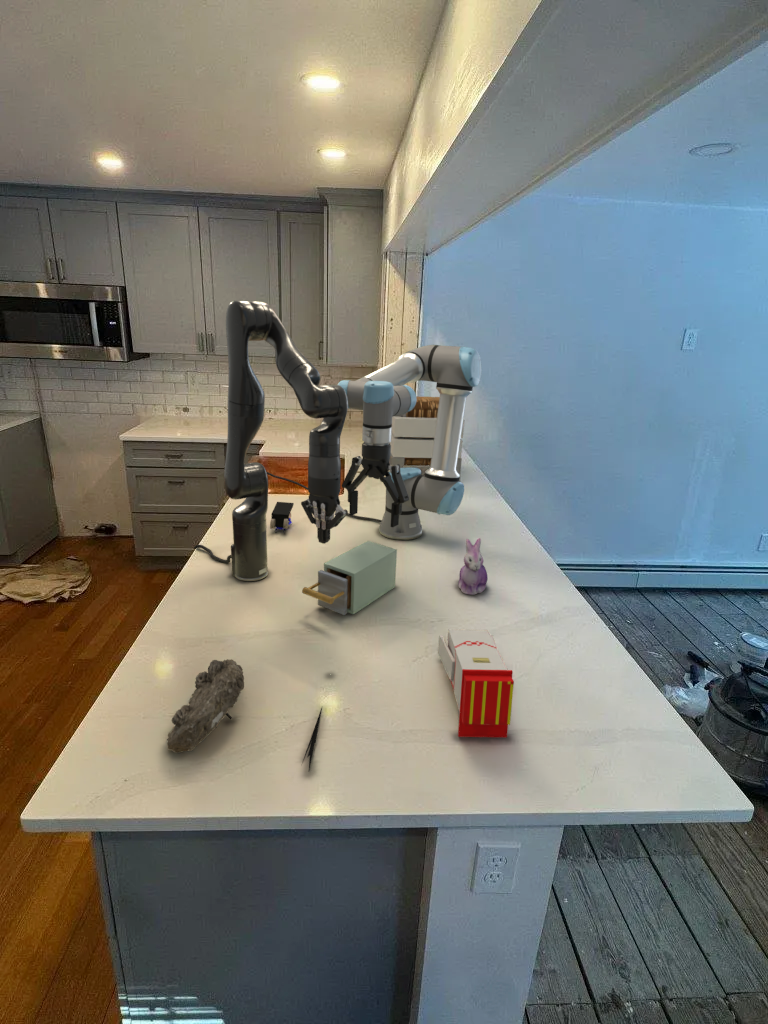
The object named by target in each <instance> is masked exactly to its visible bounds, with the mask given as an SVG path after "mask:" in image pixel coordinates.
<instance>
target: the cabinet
mask: <svg viewBox="0 0 768 1024" xmlns="http://www.w3.org/2000/svg"><path fill="white" fill-rule="evenodd" d="M397 554H398V549H397V548H393V547H390V546H387V545H384V544H381V543H377V542H374V541H371V540H367V541H364V542H363V543H361V544H359V545H356V546H355V547H353V548H351V549H349V550H347V551H345V552H343V553H341V554H339V555H337V556H336V557H333V558H331V559H330V560H327V561H325V562H324V563H323V571H326V572H327V570H328V569H333V570H336V571H338V572H341V573H344V574H347V575H350V576H351V607H350V608H349V609H347V614H349V615H355V614H356V613H359V612H360V611H362V609H364V608H366V607H367V606H369V605H370V604H373V602H375V601H376V600H378V599H379V598H381V597H383V596H384V595H385V594H387V593H389V592H390V591H391V590H393V589H394V588H395V587H396V573H397V558H398V557H397V556H398V555H397Z"/></svg>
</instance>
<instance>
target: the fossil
mask: <svg viewBox="0 0 768 1024" xmlns="http://www.w3.org/2000/svg"><path fill="white" fill-rule="evenodd" d="M243 670H244V669H243V667H242V665H240V664H237V662H236V661H235V660H234V659H232V658H231V659H227V658H226V659H224V660H223V661H222V660H217V659H212V660H211V661H210V663H209V665H208V666H207V671H201V672H199V673H198V674H197V675H196V676H195V680H194V684H195V685H194V687H195V689H194V690H193V693H192V694H191V697H190V698H189V700H188V704H184V705H182V706H181V707H180V709H177V710H176V711H175V713H174V715H173V716H172V718H171V723H172V724H173V727H172V730H171V731H170V732H168V734H167V738H166V741H167V742H166V745H167V749H168V750H169V751H173V752H174V753H176V754H178V753H182V752H188V751H189V752H192V751H193V750H195V748H196V747H197V746H199V744H200V743H201V742H203V741H204V740H205V739H206V738H207V737H208V736H209V735H210V734H211V733H212V732H214V730H215V729H217V727H218V726H219V724H220V722H221V721H222V720H223V719H224V718H225V716H226V717H227V719H229V720H233V717H232V715H230V714H229V710H230V709H231V708H234V706H235V704H236V703H237V702H238V699H239V697H240V695H241V693H242V691H243V690H245V689H244V688H245V675H244V671H243Z"/></svg>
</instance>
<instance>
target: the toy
mask: <svg viewBox="0 0 768 1024" xmlns="http://www.w3.org/2000/svg"><path fill="white" fill-rule="evenodd" d="M446 640H447V643H446V641H445V639H444V636H443V635H442V634H439V637H438V646H437V656H438V657H439V659H440V661H441V663H442V666H443V668H444V670H445V672H446V674H447V677H448V679H449V681H450V684H451V687H452V690H453V693H454V697H455V701H456V705H457V708H458V711H459V714H458V715H459V716H458V730H457V731H458V732H457V737H458V738H508V731H509V726H510V725H511V717H512V707H513V697H514V696H513V695H514V684H515V680H514V679H513V673H514V671H513V670H512V669H508V667H507V665H506V662H505V661H504V659H503V658H502V655H501V653H500V651H499V649H498V647H497V643H496V639H495V637H494V635H493V634H491V632H490V631H489V629H467V628H466V629H465V628H463V629H461V628H460V629H459V628H448V630H447V639H446Z"/></svg>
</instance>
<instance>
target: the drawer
mask: <svg viewBox="0 0 768 1024" xmlns="http://www.w3.org/2000/svg"><path fill="white" fill-rule="evenodd" d="M315 588H317V591H316V590H314V589H315ZM301 593H302V594H304V595H306V596H309V597H312V598H314V599H316V600H317V605H318V606H320V607H322V608H325V609H326V610H330V611H333V612H335V613H337V614H340V615H343V616H345V615H347V614H348V612H347V609H349V608H350V607H351V576H350V575H347V574H344V573H341V572H338V571H336V570H333V569H328V570H327V572H326V571H324V569H320V570H318V571H317V582H316V583H314V584H312V585H310V586H309V587H306V586H304V587H303V588H302V589H301Z"/></svg>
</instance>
